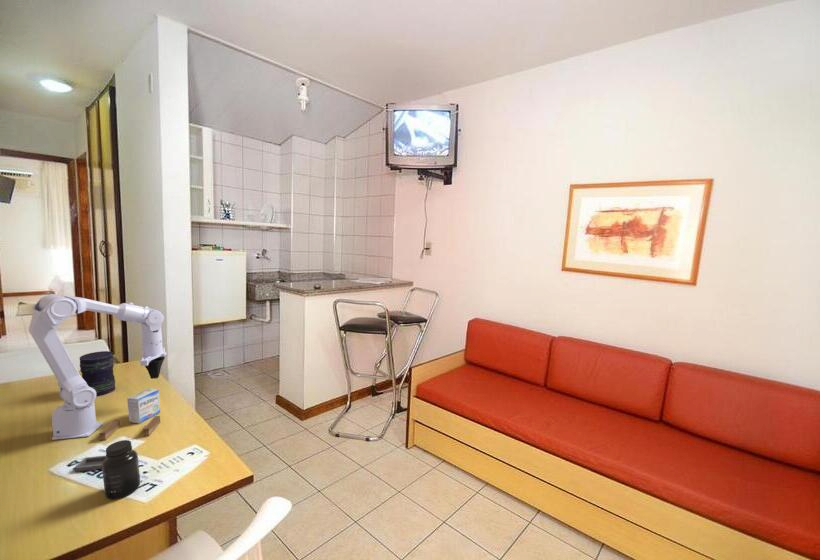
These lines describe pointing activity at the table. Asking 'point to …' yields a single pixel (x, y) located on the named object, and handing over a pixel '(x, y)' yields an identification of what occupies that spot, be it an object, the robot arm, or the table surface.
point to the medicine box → (143, 405)
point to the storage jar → (98, 371)
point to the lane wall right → (151, 426)
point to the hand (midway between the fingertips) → (154, 377)
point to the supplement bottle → (120, 470)
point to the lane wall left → (109, 430)
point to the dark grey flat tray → (90, 463)
